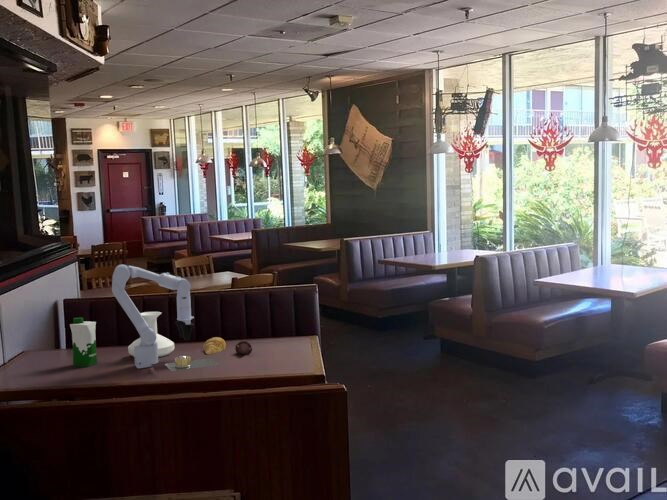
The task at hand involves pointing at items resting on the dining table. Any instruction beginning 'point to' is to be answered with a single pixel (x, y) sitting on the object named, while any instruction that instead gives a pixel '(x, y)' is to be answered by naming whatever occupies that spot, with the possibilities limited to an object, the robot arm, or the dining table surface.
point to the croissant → (214, 345)
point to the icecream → (243, 348)
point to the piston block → (193, 364)
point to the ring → (183, 361)
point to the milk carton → (83, 342)
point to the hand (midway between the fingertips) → (185, 338)
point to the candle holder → (162, 342)
